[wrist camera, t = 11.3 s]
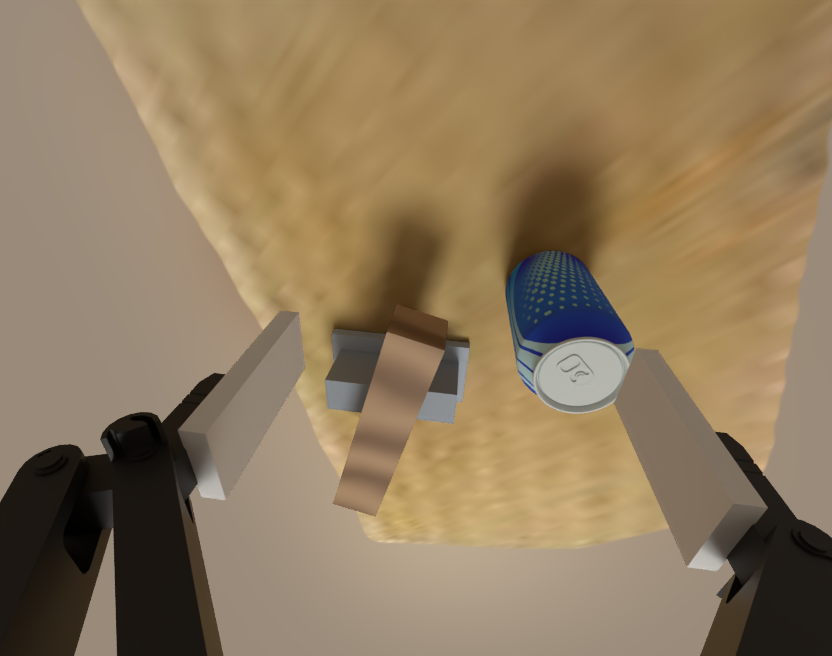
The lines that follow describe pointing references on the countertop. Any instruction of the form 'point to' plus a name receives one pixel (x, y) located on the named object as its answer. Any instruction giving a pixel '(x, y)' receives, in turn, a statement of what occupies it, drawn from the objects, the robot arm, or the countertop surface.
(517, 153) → the countertop surface
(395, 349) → the walnut bar
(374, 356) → the fulcrum block
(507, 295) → the beer can
